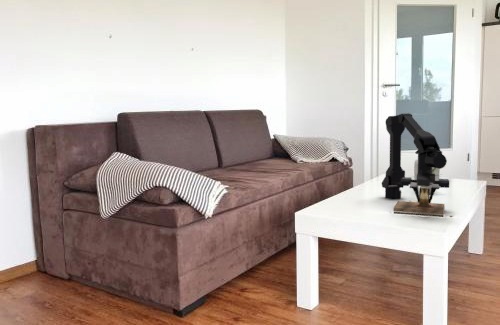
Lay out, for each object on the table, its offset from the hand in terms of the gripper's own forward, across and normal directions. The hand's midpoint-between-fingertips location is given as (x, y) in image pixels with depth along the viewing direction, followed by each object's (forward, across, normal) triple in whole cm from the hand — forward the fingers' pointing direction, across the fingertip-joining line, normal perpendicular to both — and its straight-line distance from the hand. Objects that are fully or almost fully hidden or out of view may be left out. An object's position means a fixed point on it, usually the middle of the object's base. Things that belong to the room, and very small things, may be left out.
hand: (424, 202), depth 191 cm
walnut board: (+4, -2, +5) cm, 7 cm away
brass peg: (+1, 0, 0) cm, 1 cm away
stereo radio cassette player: (+4, -4, +70) cm, 70 cm away
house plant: (+4, 0, +41) cm, 41 cm away
